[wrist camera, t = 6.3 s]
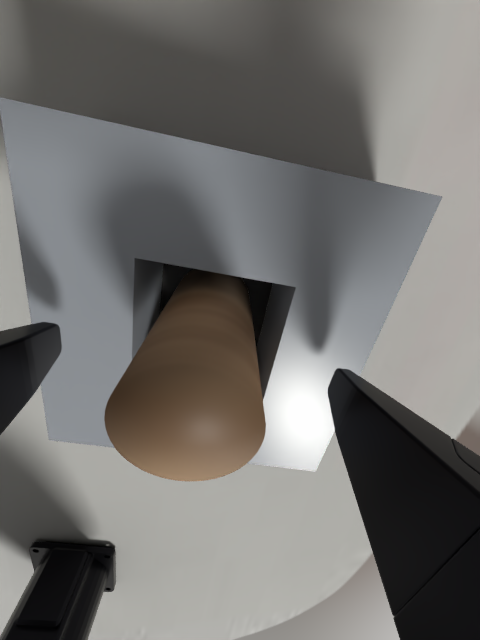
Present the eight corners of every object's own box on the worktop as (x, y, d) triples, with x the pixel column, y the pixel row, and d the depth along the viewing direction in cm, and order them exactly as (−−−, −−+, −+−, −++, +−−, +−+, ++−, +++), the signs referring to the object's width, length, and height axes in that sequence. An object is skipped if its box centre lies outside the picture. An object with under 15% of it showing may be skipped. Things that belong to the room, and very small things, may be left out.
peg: (241, 338, 14) (248, 488, 7) (173, 326, 14) (105, 472, 7) (256, 272, 13) (283, 377, 6) (179, 257, 12) (102, 350, 5)
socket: (298, 409, 16) (315, 471, 13) (93, 381, 15) (48, 440, 12) (377, 195, 11) (442, 196, 8) (81, 130, 10) (-2, 96, 7)
